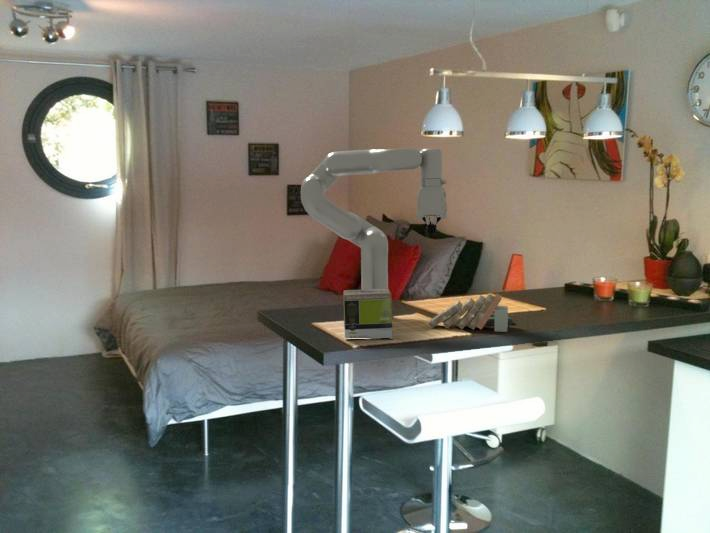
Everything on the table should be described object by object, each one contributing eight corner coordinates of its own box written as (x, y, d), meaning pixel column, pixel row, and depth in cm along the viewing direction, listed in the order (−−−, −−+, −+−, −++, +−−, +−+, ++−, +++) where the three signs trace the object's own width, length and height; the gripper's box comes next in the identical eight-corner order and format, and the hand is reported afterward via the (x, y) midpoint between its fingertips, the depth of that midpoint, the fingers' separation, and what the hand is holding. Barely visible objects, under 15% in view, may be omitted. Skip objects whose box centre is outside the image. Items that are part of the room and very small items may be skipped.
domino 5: (476, 326, 235) (496, 296, 232) (477, 322, 241) (496, 293, 238) (481, 329, 235) (501, 299, 232) (482, 325, 241) (501, 296, 238)
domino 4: (468, 326, 236) (488, 296, 233) (469, 322, 241) (489, 293, 239) (473, 329, 235) (493, 299, 233) (474, 326, 241) (494, 296, 238)
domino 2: (442, 324, 237) (469, 300, 234) (444, 320, 243) (471, 297, 240) (447, 329, 237) (473, 305, 234) (448, 325, 243) (475, 302, 240)
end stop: (494, 331, 233) (494, 310, 232) (495, 326, 241) (495, 305, 240) (507, 331, 232) (507, 310, 231) (507, 326, 240) (507, 305, 239)
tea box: (390, 332, 233) (389, 287, 231) (392, 339, 223) (392, 293, 221) (344, 333, 233) (343, 288, 231) (344, 341, 223) (343, 294, 221)
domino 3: (457, 325, 236) (480, 297, 233) (458, 322, 242) (481, 294, 239) (462, 329, 236) (484, 301, 233) (463, 325, 242) (485, 298, 239)
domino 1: (428, 323, 239) (457, 303, 235) (430, 320, 244) (459, 300, 241) (431, 328, 238) (461, 308, 235) (433, 324, 244) (462, 305, 241)
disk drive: (473, 318, 257) (483, 326, 242) (473, 310, 256) (483, 318, 242) (501, 317, 257) (513, 325, 243) (501, 310, 257) (513, 317, 242)
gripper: (453, 183, 255) (454, 234, 258) (412, 183, 259) (413, 234, 261) (451, 183, 248) (451, 236, 250) (408, 184, 252) (409, 236, 254)
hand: (431, 235), depth 256 cm, fingers closed
